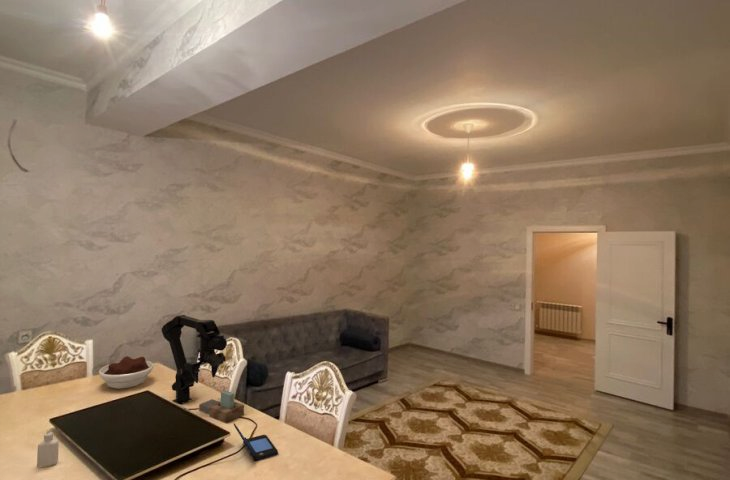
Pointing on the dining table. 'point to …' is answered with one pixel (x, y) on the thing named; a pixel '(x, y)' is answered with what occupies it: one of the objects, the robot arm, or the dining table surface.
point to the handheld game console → (259, 446)
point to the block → (227, 399)
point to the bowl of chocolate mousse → (126, 372)
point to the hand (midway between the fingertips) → (205, 380)
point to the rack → (226, 412)
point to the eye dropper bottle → (47, 450)
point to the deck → (207, 406)
